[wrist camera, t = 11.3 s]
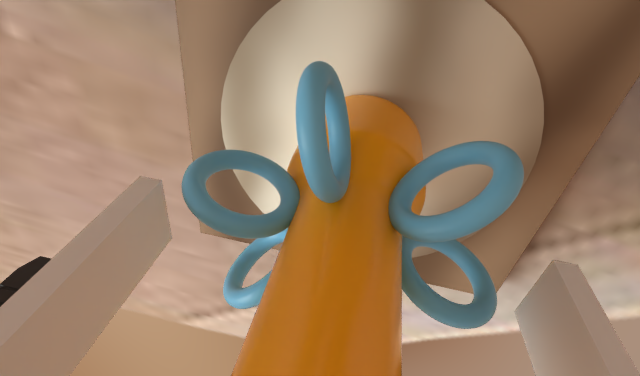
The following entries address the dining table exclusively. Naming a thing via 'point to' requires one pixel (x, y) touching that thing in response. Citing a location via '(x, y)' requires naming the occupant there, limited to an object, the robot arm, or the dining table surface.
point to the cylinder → (349, 234)
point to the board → (416, 94)
